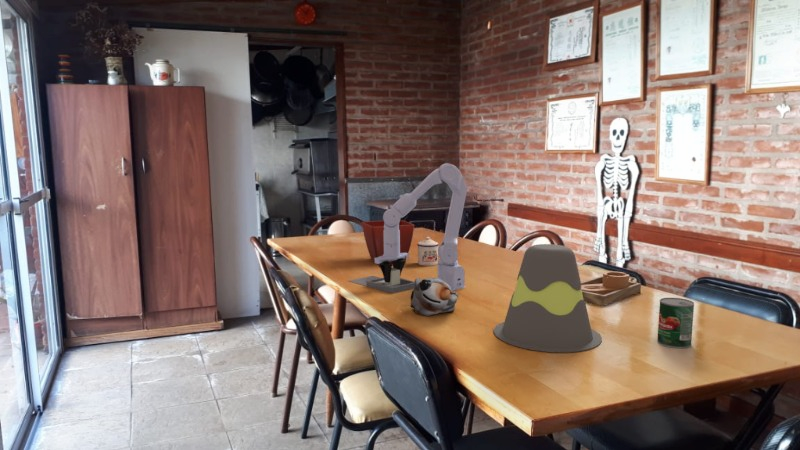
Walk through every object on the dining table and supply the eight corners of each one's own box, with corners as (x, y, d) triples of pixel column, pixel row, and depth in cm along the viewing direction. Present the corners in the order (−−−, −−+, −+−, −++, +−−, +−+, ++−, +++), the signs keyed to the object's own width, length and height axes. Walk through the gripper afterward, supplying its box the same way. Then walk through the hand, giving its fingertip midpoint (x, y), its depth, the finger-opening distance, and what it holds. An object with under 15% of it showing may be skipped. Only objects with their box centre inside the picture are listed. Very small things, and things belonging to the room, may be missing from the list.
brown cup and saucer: (618, 290, 200) (619, 270, 200) (633, 296, 192) (634, 276, 192) (572, 293, 196) (572, 273, 195) (585, 299, 188) (586, 279, 187)
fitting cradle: (640, 291, 197) (641, 283, 197) (604, 305, 180) (604, 296, 180) (600, 284, 208) (600, 276, 208) (562, 296, 191) (562, 287, 191)
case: (417, 288, 202) (417, 282, 202) (392, 294, 194) (392, 288, 194) (391, 282, 212) (391, 275, 212) (366, 287, 204) (366, 281, 204)
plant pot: (361, 257, 259) (361, 221, 257) (401, 255, 265) (401, 219, 263) (372, 266, 241) (372, 226, 239) (415, 263, 247) (415, 224, 245)
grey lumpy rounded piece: (461, 307, 178) (468, 274, 170) (446, 332, 169) (453, 298, 161) (418, 290, 183) (423, 256, 175) (401, 313, 174) (406, 279, 166)
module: (400, 283, 203) (399, 268, 202) (391, 285, 200) (391, 270, 199) (392, 281, 206) (392, 267, 205) (384, 283, 203) (384, 268, 202)
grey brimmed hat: (523, 313, 172) (525, 235, 169) (617, 332, 155) (621, 245, 151) (474, 337, 151) (475, 247, 148) (576, 362, 133) (580, 261, 130)
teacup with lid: (421, 266, 240) (421, 239, 238) (414, 262, 248) (414, 236, 247) (447, 264, 244) (448, 237, 242) (439, 260, 252) (439, 234, 251)
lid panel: (391, 282, 212) (391, 278, 212) (366, 287, 204) (366, 284, 204) (372, 277, 220) (372, 274, 220) (347, 282, 212) (347, 278, 212)
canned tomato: (652, 343, 146) (654, 301, 144) (664, 336, 151) (666, 295, 150) (684, 350, 140) (687, 307, 139) (696, 343, 146) (698, 301, 144)
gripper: (399, 239, 209) (399, 275, 211) (368, 244, 199) (369, 282, 201) (412, 241, 204) (412, 278, 205) (381, 246, 194) (382, 285, 196)
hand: (392, 280), depth 203 cm, fingers closed on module, 4 cm apart
